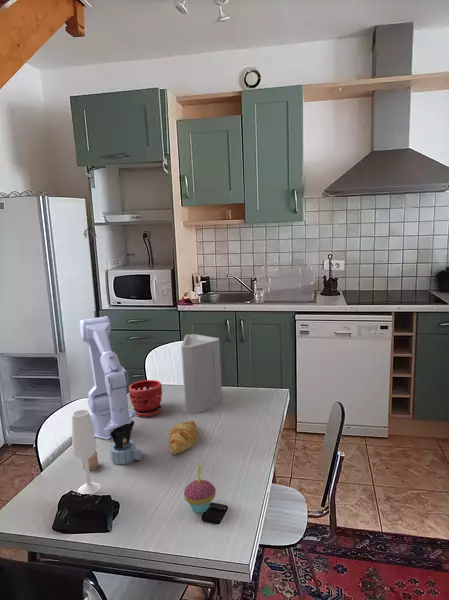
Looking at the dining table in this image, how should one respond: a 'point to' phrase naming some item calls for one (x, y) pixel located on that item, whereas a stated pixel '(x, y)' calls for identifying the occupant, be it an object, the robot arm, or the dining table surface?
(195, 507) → the cupcake
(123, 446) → the plunger
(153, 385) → the plant pot
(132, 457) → the press pot
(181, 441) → the croissant
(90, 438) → the champagne flute
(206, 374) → the grey tall triangular prism
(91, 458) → the tan rounded cylinder
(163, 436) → the dining table surface
